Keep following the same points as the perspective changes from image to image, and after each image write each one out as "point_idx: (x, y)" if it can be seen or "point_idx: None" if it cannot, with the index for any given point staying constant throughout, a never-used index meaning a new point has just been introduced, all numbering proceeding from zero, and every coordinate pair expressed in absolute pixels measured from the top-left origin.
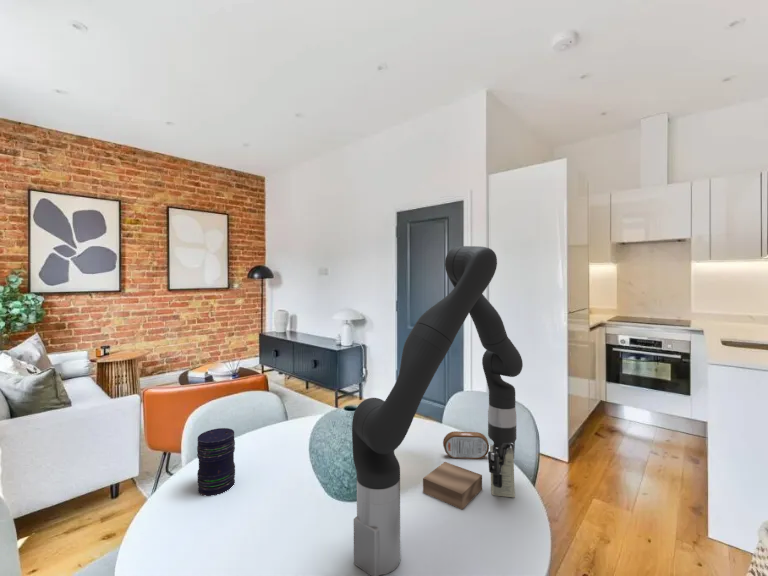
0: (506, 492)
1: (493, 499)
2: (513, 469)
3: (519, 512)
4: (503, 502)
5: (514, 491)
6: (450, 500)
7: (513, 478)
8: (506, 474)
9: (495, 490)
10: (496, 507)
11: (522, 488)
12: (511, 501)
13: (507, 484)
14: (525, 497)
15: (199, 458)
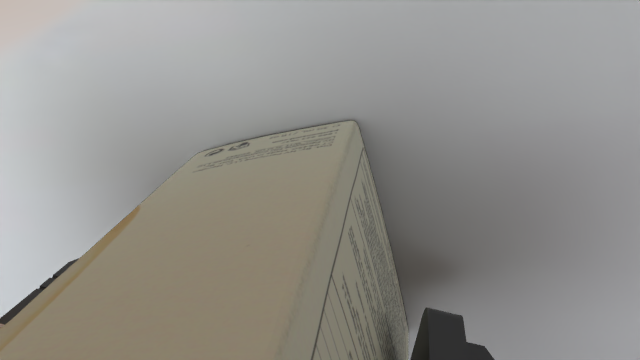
0: (375, 220)
1: (480, 309)
2: (299, 295)
3: (624, 27)
4: (491, 214)
5: (349, 139)
6: None
7: (330, 214)
8: (357, 349)
9: (404, 333)
10: (620, 266)
11: (111, 65)
12: (433, 141)
13: (365, 252)
14: (275, 7)
15: None
